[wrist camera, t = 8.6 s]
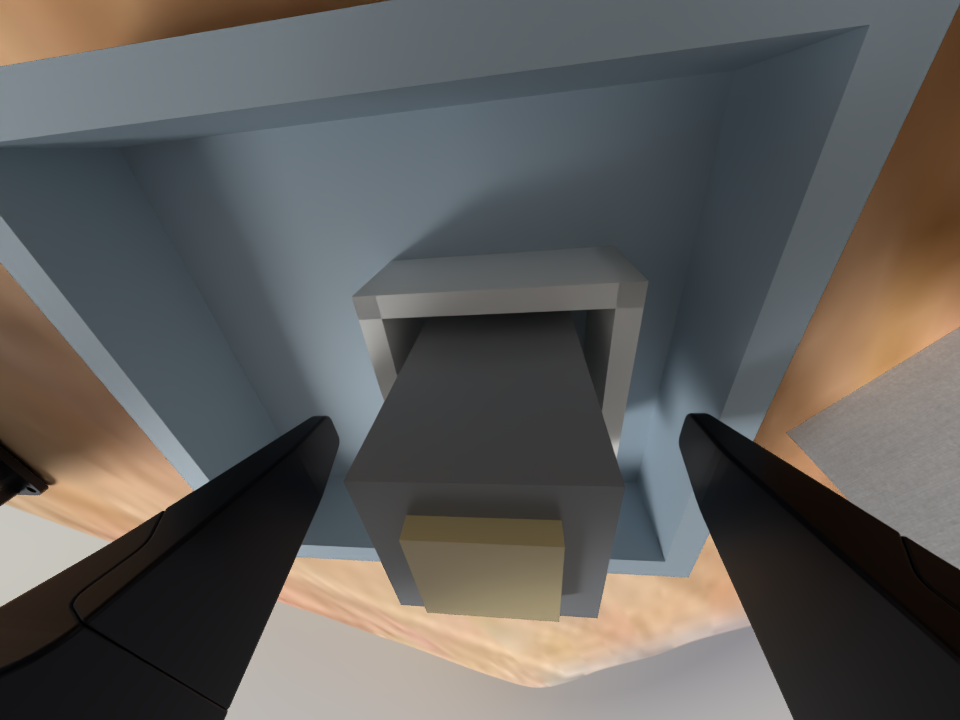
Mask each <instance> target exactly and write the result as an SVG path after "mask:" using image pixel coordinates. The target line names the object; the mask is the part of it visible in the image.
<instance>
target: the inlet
mask: <svg viewBox="0 0 960 720" xmlns="http://www.w3.org/2000/svg"><path fill="white" fill-rule="evenodd" d="M648 282H649V281H648V280H647V279H646V278H645V277H644V276H643V275H642V274H641V273H640V272H639V271H638V270H637V269H636V267H635V266H634V265H633V264H632V263H631V262H630V261H629V260H628V259H627V258H626V257H625V256H624V255H623V254H622V253H621V252H620V251H619V250H618V249H617V248H616V247H615V246H601V247H587V248H572V249H557V250H542V251H527V252H512V253H497V254H482V255H467V256H452V257H437V258H423V259H408V260H393V261H390V262H389V263H388V264H387V265H386V266H385V267H384V268H383V269H381V270H380V271H379V272H378V273H377V274H376V275H375V276H374V277H373V278H372V279H371V280H369V281H368V282H367V283H366V284H365V285H364V286H363V287H362V288H361V289H360V290H359V291H357V292H356V293H355V294H354V295H353V296H352V300H353V304H354V307H355V310H356V313H357V316H358V320H359V323H360V326H361V329H362V333H363V336H364V339H365V342H366V345H367V349H368V352H369V355H370V358H371V362H372V365H373V368H374V371H375V374H376V378H377V381H378V384H379V387H380V391H381V394H382V397H383V400H384V401H385V400H386V398H387V396H388V394H389V392H390V390H391V388H392V386H393V384H394V382H395V380H396V378H397V376H398V374H399V372H400V371H401V369H402V367H403V365H404V363H405V361H406V359H407V357H408V355H409V353H410V351H411V349H412V347H413V345H414V343H415V342H416V340H417V338H418V336H419V334H420V332H421V330H422V328H423V323H422V318H421V317H435V316H457V315H480V314H502V313H525V312H548V311H570V310H587V322H586V334H585V345H584V358H585V361H586V364H587V367H588V370H589V374H590V377H591V380H592V383H593V386H594V389H595V393H596V396H597V399H598V402H599V405H600V408H601V412H602V415H603V418H604V421H605V424H606V427H607V431H608V434H609V437H610V440H611V443H612V446H613V450H614V453H615V456H616V459H617V454H618V448H619V442H620V437H621V431H622V426H623V420H624V415H625V409H626V404H627V398H628V393H629V387H630V381H631V376H632V370H633V365H634V359H635V354H636V348H637V343H638V337H639V332H640V326H641V321H642V315H643V309H644V304H645V298H646V293H647V287H648Z"/></svg>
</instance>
